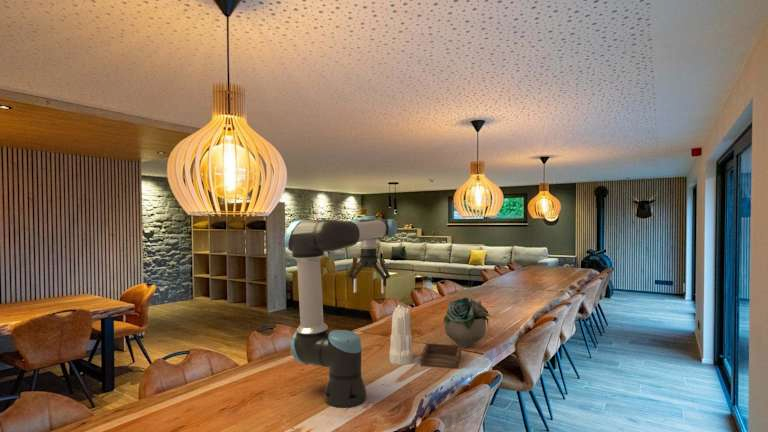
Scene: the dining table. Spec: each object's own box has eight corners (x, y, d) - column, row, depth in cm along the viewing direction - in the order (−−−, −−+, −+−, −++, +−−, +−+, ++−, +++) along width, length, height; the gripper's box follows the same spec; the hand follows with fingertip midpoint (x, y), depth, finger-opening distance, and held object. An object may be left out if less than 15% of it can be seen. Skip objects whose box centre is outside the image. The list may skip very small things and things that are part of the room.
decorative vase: (411, 365, 180) (410, 308, 181) (387, 364, 183) (386, 308, 183) (414, 357, 191) (413, 304, 192) (392, 356, 193) (391, 303, 194)
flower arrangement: (500, 349, 202) (499, 299, 203) (456, 355, 194) (455, 303, 194) (473, 336, 226) (472, 292, 226) (432, 341, 217) (432, 295, 218)
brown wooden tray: (458, 368, 176) (458, 357, 176) (420, 365, 180) (420, 354, 180) (461, 356, 192) (461, 345, 192) (426, 353, 196) (426, 343, 196)
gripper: (395, 247, 196) (396, 292, 196) (346, 247, 202) (346, 290, 201) (392, 248, 189) (393, 294, 188) (341, 248, 194) (341, 293, 194)
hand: (369, 292), depth 195 cm, fingers open, 13 cm apart
